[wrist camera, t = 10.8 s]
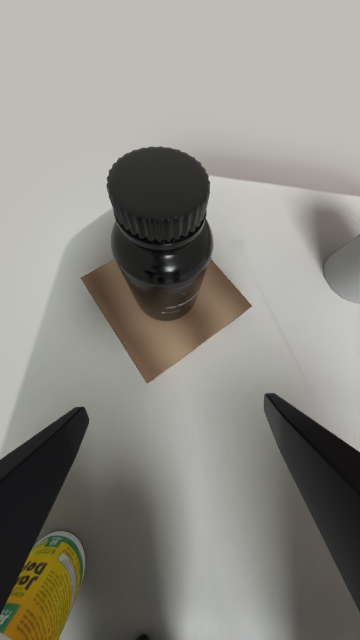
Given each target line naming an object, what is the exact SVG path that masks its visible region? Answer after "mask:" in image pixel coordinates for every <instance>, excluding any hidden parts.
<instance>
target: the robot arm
mask: <svg viewBox="0 0 360 640" xmlns="http://www.w3.org/2000/svg"><path fill="white" fill-rule="evenodd" d="M264 411H265V414H266V417H267V419H268V422H269V424H270V427H271V430H272V432H273V435H274V438H275V440H276V443H277V445H278V448H279V450H280V452H281V454H282V456H283V458H284V460H285V462H286V464H287V466H288V468H289V470H290V472H291V474H292V476H293V478H294V480H295V483H296V485H297V487H298V489H299V491H300V493H301V495H302V497H303V499H304V501H305V503H306V505H307V507H308V509H309V511H310V513H311V515H312V517H313V519H314V521H315V523H316V525H317V527H318V529H319V531H320V533H321V535H322V537H323V539H324V541H325V543H326V545H327V547H328V549H329V551H330V553H331V555H332V557H333V559H334V561H335V563H336V565H337V567H338V570H339V572H340V574H341V576H342V578H343V580H344V582H345V584H346V586H347V588H348V590H349V592H350V594H351V596H352V598H353V600H354V602H355V604H356V606H357V608H358V610H359V612H360V452H359V451H357V450H356V449H354V448H353V447H352V446H350V445H349V444H347V443H346V442H344V441H343V440H341V439H340V438H338V437H337V436H336V435H334V434H333V433H331V432H330V431H328V430H327V429H325V428H324V427H323V426H321V425H320V424H318V423H317V422H315V421H314V420H312V419H311V418H309V417H308V416H307V415H305V414H304V413H302V412H301V411H299V410H298V409H296V408H295V407H294V406H292V405H291V404H289V403H288V402H286V401H285V400H283V399H282V398H281V397H279V396H278V395H276V394H274V393H266V394H265V395H264ZM88 424H89V417H88V415H87V412H86V409H85V408H84V407H75V408H73V409H72V410H71V411H69V412H68V413H66V414H65V415H64V416H62V417H61V418H59V419H58V420H56V421H55V422H54V423H52V424H51V425H49V426H48V427H46V428H45V429H44V430H42V431H41V432H39V433H38V434H36V435H35V436H34V437H32V438H31V439H29V440H28V441H26V442H25V443H24V444H22V445H21V446H19V447H18V448H16V449H15V450H14V451H12V452H11V453H9V454H8V455H6V456H5V457H4V458H2V459H1V460H0V615H1V613H2V611H3V609H4V607H5V604H6V602H7V600H8V598H9V596H10V594H11V592H12V590H13V588H14V586H15V584H16V581H17V579H18V577H19V575H20V573H21V571H22V569H23V567H24V565H25V563H26V560H27V558H28V556H29V554H30V552H31V550H32V548H33V546H34V544H35V542H36V540H37V537H38V535H39V533H40V531H41V529H42V527H43V525H44V523H45V521H46V519H47V516H48V514H49V512H50V510H51V508H52V506H53V504H54V502H55V500H56V498H57V496H58V493H59V491H60V489H61V487H62V485H63V483H64V481H65V479H66V477H67V475H68V472H69V470H70V468H71V466H72V464H73V462H74V460H75V457H76V455H77V453H78V450H79V447H80V445H81V442H82V440H83V437H84V434H85V432H86V429H87V427H88ZM138 640H149V638H148V637H147V636H146V635H142V636H141V637H139V638H138Z"/></svg>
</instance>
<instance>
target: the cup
mask: <svg viewBox="0 0 360 640" xmlns="http://www.w3.org/2000/svg"><path fill="white" fill-rule="evenodd" d="M324 278H325V279H326V281H327V283H328V285H329V286H330V288H331V289H332V290H333V291H334V292H335V293H336V294H338V295H339V296H340V297H341V298H343V299H345V300H348V301H351V302H353V303H356V304H360V235H358V236H357V237H355V238H354V239H353V240H351V241H350V242H349V243H347V244H346V245H344V246H343V247H342V248H340V249H339V250H338V251H336V252H335V253H334V254H332V255H331V256H329V257H328V259H327V261H326V262H325V264H324Z"/></svg>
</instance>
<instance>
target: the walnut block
mask: <svg viewBox="0 0 360 640" xmlns="http://www.w3.org/2000/svg"><path fill="white" fill-rule="evenodd" d="M81 280H82V281H83V283H84V284H85V286H86V287H87V289H88V291H89V292H90V294H91V295H92V297H93V299H94V300H95V302H96V303H97V305H98V307H99V308H100V310H101V311H102V313H103V314H104V316H105V318H106V319H107V321H108V322H109V324H110V326H111V327H112V329H113V330H114V332H115V333H116V335H117V337H118V338H119V340H120V341H121V343H122V345H123V346H124V348H125V349H126V351H127V353H128V354H129V356H130V357H131V359H132V360H133V362H134V364H135V365H136V367H137V368H138V370H139V372H140V373H141V375H142V376H143V378H144V380H145V381H146V383H149V382H151V381H152V380H154V379H155V378H156V377H158V376H159V375H160V374H162V373H163V372H164V371H166V370H167V369H169V368H170V367H171V366H173V365H174V364H175V363H177V362H178V361H179V360H181V359H182V358H183V357H185V356H186V355H187V354H189V353H190V352H192V351H193V350H194V349H196V348H197V347H198V346H200V345H201V344H202V343H204V342H205V341H206V340H208V339H209V338H210V337H212V336H213V335H215V334H216V333H217V332H219V331H220V330H221V329H223V328H224V327H225V326H227V325H228V324H229V323H231V322H232V321H233V320H235V319H236V318H238V317H239V316H240V315H242V314H243V313H244V312H245V311H247V310H248V309H249V308H250V307H251V306H252V305H251V304H250V303H249V302H248V301H247V300H246V298H245V297H244V296H243V295H242V294H241V293H240V292H239V291H238V289H237V288H236V287H235V286H234V285H233V284H232V283H231V281H230V280H229V279H228V278H227V277H226V276H225V275H224V273H223V272H222V271H221V270H220V269H219V268H218V267H217V266H216V264H215V263H214V262H213V261H212V260H211V259H210V262H209V264H208V267H207V270H206V273H205V276H204V279H203V282H202V285H201V288H200V290H199V293H198V296H197V299H196V302H195V304H194V306H193V307H192V309H191V310H190V311H189V312H188V313H187V314H186V315H185V316H183V317H181V318H179V319H176V320H173V321H160V320H156V319H153V318H151V317H149V316H148V315H146V314H145V313H144V312H143V311H142V310H141V309H140V307H139V306H138V304H137V302H136V300H135V298H134V296H133V294H132V292H131V290H130V288H129V286H128V284H127V282H126V280H125V279H124V277H123V275H122V273H121V271H120V269H119V267H118V265H117V263H116V260H115V259H114V260H113V261H111V262H109V263H107V264H105V265H103V266H102V267H100V268H98V269H96V270H94V271H92V272H91V273H89V274H87V275H85V276H83V277H81Z"/></svg>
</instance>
